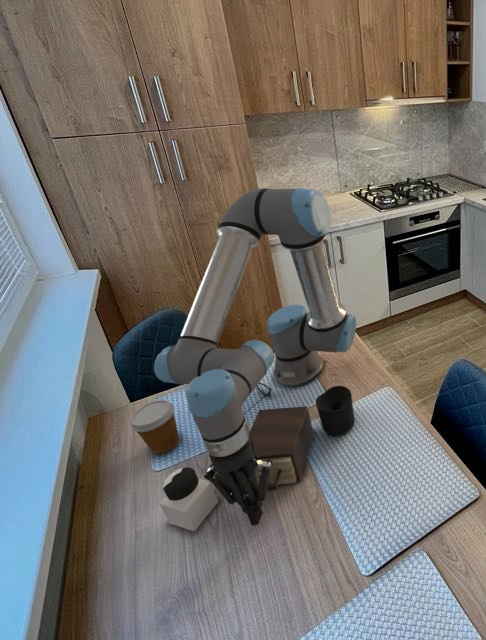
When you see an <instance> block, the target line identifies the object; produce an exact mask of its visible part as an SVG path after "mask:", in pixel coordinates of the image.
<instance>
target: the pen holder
mask: <svg viewBox="0 0 486 640" xmlns="http://www.w3.org/2000/svg"><path fill="white" fill-rule="evenodd" d="M353 403H354V402H353V396H352V391H351V390H350V389H349V388H348V387H347V386H344V385H333V386H331V387H330V388H328V389H326V391H324V392H323V393H321V394H319V396H317V397H316V399H315V406H316V409H317V414H318V416H319V417H318V418H319V420H320V424H321V427H322V430H323V432H324V433H325V434H326V435H327V436H330V437H335V438H337V437H341V436H344V435H345V434H347V433H349V432H350V431H351V429H352V428H353V426H354V425H355V412H354V404H353Z"/></svg>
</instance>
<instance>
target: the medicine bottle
mask: <svg viewBox="0 0 486 640" xmlns="http://www.w3.org/2000/svg"><path fill="white" fill-rule="evenodd" d="M164 480H165V481H164V482H163V485H162V489H163V491H164V494H165V497H164V498H163V499H162V500H161V501H160V502H159V506H160V508H161V510H162V511H163V514H164V516H165V517H166V520H167V521H168V523H169V524H170V525H172V526H176V527H179V528H182V529H185V530H189V531H191V532H196V530H197V529H198V528H200V526H201V525H202V523H203V522H204V521H205V519H206V518H207V517H208V516H209V514H210V513H211V512H212V511H213V510H214V508H215V507H216V506H217V504H218V503H219V499H218V497H217V494H216V492H215V489H214V487H213V484H212V482H210V481H209V480H206V479H201V478H199V477H198V474H197V473H196V470H195V469H194V468H192V467H189V466H188V467H187V466H185V467H181V468H178V469H176V470H174V471H173V472H172V473H170V474H169V475H168V476H167V477H166V478H165V479H164Z"/></svg>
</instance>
